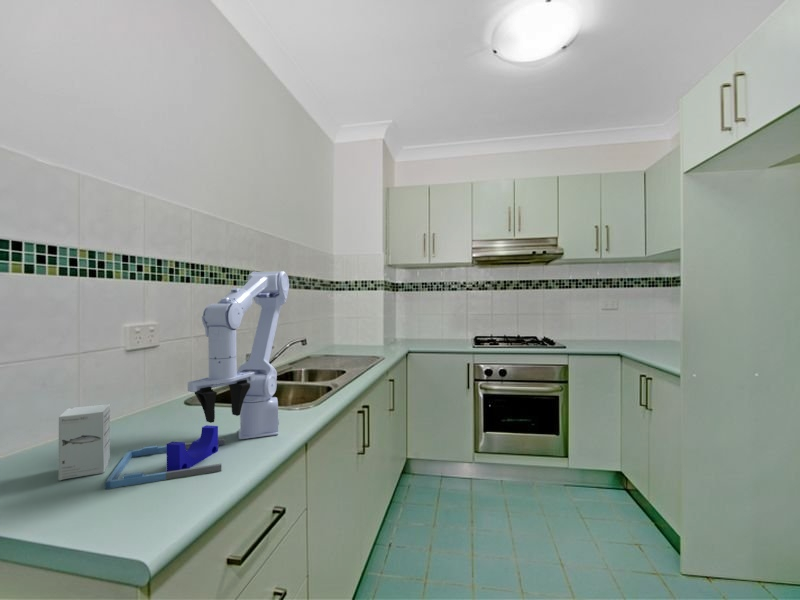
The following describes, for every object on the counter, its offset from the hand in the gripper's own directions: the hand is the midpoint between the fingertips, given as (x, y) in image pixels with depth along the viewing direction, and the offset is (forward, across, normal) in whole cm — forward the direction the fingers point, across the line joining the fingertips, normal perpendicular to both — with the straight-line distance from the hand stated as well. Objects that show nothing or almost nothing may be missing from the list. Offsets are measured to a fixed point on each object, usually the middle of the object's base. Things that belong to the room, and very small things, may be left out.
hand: (223, 418), depth 88 cm
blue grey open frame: (+8, +8, -5) cm, 13 cm away
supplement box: (+9, +21, -16) cm, 28 cm away
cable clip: (+9, +6, -3) cm, 11 cm away
